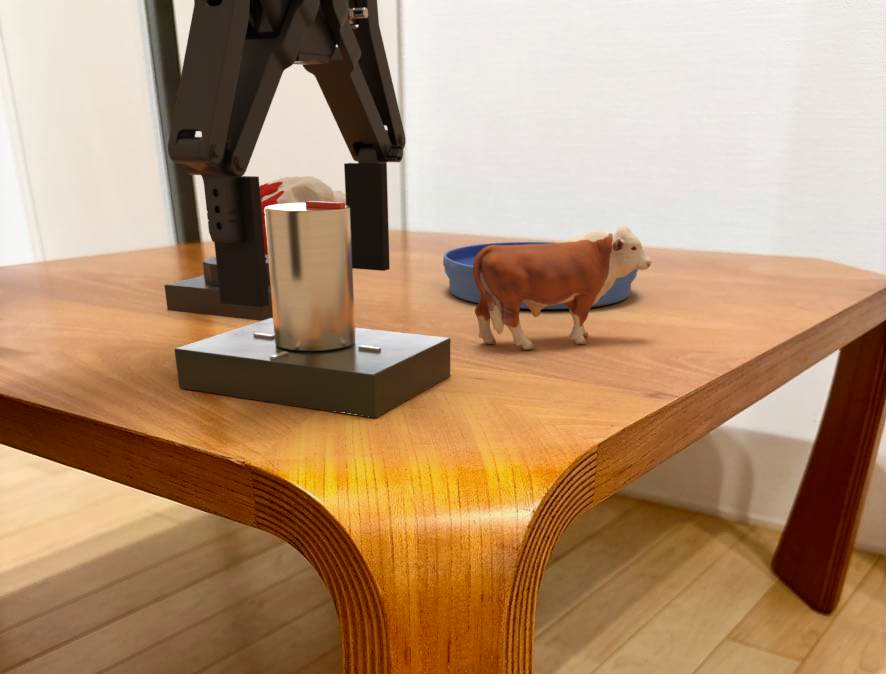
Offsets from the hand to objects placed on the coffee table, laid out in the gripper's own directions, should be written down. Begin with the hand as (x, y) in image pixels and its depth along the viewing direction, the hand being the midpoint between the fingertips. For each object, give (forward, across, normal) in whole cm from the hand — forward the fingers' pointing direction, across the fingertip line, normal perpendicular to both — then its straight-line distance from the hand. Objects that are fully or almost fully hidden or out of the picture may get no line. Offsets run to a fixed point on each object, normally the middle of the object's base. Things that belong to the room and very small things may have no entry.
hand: (313, 285), depth 55 cm
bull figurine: (+6, +17, -10) cm, 21 cm away
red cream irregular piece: (+6, +42, +32) cm, 53 cm away
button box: (+6, +18, +19) cm, 27 cm away
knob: (+3, 0, 0) cm, 3 cm away
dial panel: (+6, 0, 0) cm, 6 cm away
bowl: (+6, +35, -2) cm, 36 cm away
